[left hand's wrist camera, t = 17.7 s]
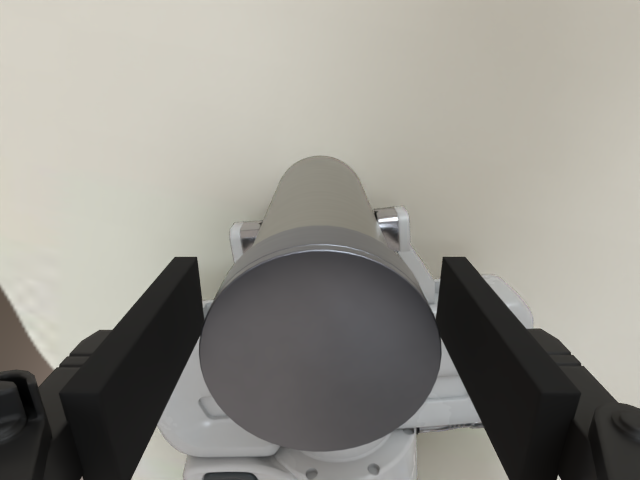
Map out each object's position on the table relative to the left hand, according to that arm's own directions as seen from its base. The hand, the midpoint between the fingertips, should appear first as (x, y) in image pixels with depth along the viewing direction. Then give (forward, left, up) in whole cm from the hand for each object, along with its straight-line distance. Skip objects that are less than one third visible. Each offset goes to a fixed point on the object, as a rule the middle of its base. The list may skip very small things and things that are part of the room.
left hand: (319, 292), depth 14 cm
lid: (0, 0, +3) cm, 3 cm away
